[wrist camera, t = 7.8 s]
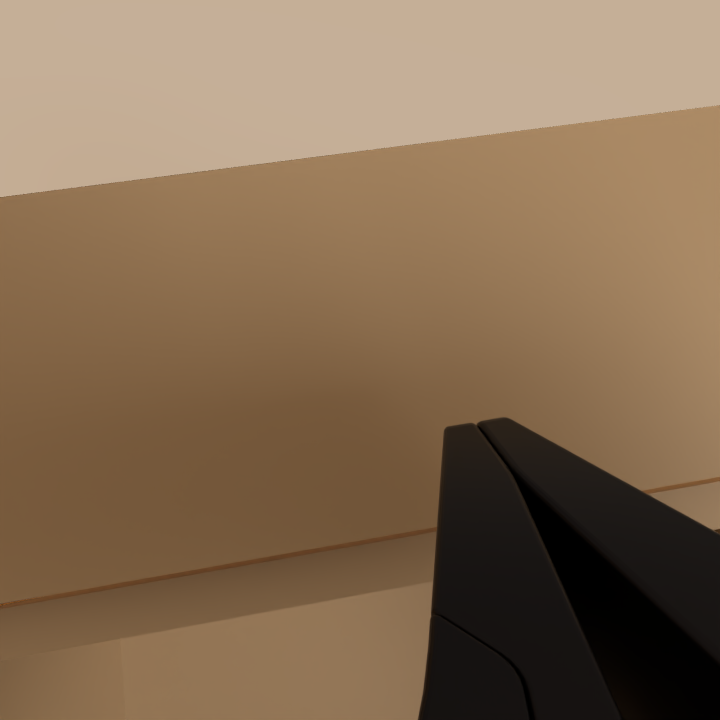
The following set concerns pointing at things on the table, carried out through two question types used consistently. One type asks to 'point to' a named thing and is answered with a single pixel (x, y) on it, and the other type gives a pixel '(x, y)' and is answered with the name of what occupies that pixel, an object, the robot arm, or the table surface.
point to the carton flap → (346, 340)
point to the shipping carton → (247, 636)
